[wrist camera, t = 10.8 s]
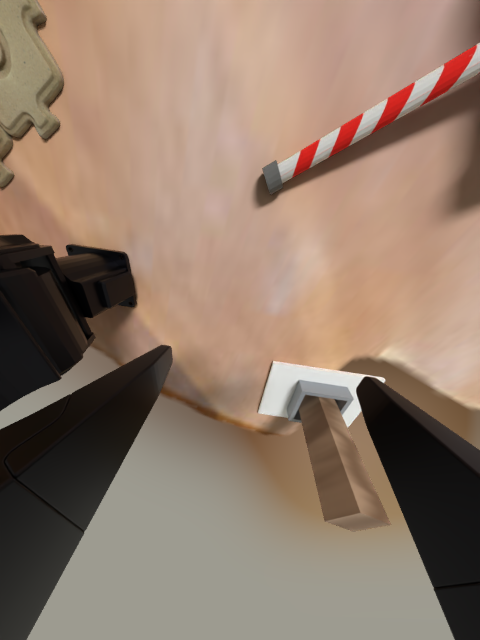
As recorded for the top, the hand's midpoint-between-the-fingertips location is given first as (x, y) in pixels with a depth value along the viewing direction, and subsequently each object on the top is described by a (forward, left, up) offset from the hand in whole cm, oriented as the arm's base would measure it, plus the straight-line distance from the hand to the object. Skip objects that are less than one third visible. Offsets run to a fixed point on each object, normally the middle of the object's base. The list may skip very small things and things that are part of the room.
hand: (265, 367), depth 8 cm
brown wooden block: (+12, -17, -12) cm, 24 cm away
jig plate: (+12, -17, -13) cm, 25 cm away
